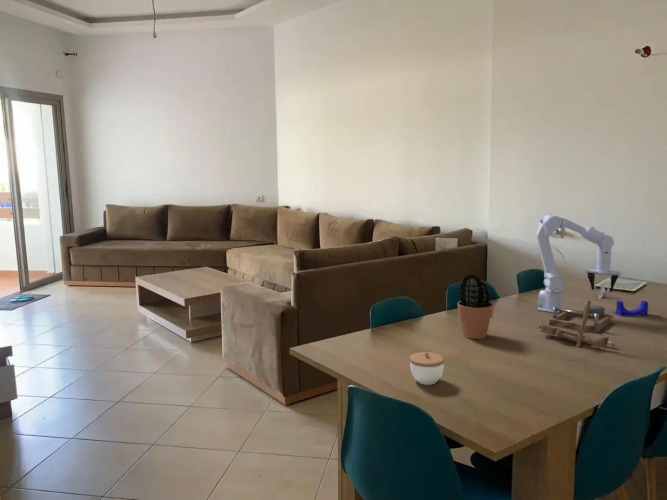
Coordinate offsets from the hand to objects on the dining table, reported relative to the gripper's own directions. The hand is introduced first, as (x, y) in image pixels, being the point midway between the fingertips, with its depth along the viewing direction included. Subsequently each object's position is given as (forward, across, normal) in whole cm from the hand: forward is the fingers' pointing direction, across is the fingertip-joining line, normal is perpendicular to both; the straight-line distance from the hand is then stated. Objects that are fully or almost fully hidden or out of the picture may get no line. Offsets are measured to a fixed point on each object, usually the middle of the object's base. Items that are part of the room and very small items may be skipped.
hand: (602, 290), depth 250 cm
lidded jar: (+10, -30, -117) cm, 121 cm away
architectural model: (+10, 0, +23) cm, 25 cm away
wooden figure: (+10, -1, -52) cm, 53 cm away
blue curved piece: (+10, +13, 0) cm, 16 cm away
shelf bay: (+9, -3, -26) cm, 28 cm away
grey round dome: (+10, -1, -9) cm, 13 cm away
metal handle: (+9, -4, -33) cm, 34 cm away
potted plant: (+10, -35, -65) cm, 74 cm away
